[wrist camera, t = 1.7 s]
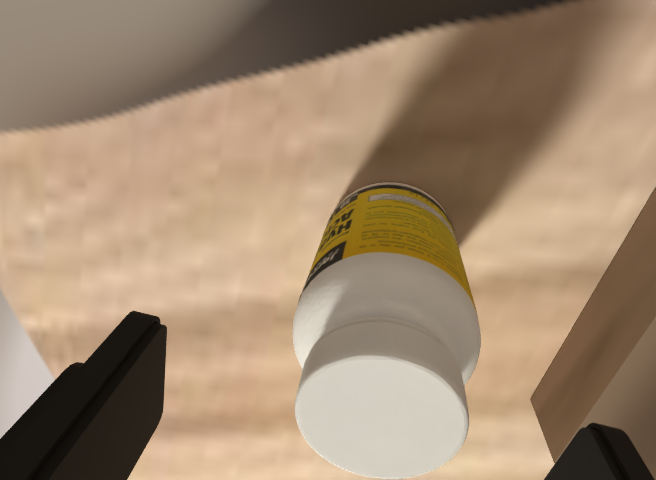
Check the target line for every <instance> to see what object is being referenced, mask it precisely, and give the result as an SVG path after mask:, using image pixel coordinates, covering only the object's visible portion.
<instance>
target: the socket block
mask: <svg viewBox="0 0 656 480" xmlns="http://www.w3.org/2000/svg"><path fill="white" fill-rule="evenodd" d="M530 400H531V403H532V405H533V408H534V411H535V413H536V416H537V418H538V421H539V424H540V426H541V429H542V432H543V434H544V437H545V440H546V442H547V445H548V448H549V450H550V453H551V456H552V458H553V461H554V463H556V462H557V460H558V459H559V458H560V456H561V455H562V453H563V452H564V450H565V449H566V448H567V446H568V445H569V443H570V442H571V441H572V439H573V438H574V436H575V435H576V433H577V432H578V431H579V430H580V429H581V428H583V427H585V428H586V427H587V426H588V425H589V424H590V423H598V424H602V425H606V426H610V427H614V428H618V429H621V430H623V431H624V432H625V433H626V434H627V435H628V436H629V438H630V440H631V441H632V443H633V445H634V446H635V448H636V450H637V451H638V453H639V455H640V456H641V458H642V460H643V461H644V463H645V465H646V466H647V468H648V469H649V471H650V473H651V474H652V476H653V478H654V479H655V480H656V188H655V190H654V191H653V193H652V195H651V196H650V198H649V200H648V201H647V203H646V205H645V206H644V208H643V210H642V212H641V213H640V215H639V217H638V218H637V220H636V222H635V223H634V225H633V227H632V228H631V230H630V232H629V233H628V235H627V237H626V239H625V240H624V242H623V244H622V245H621V247H620V249H619V250H618V252H617V254H616V255H615V257H614V259H613V260H612V262H611V264H610V266H609V267H608V269H607V271H606V272H605V274H604V276H603V277H602V279H601V281H600V282H599V284H598V286H597V287H596V289H595V291H594V293H593V294H592V296H591V298H590V299H589V301H588V303H587V304H586V306H585V308H584V309H583V311H582V313H581V315H580V316H579V318H578V320H577V321H576V323H575V325H574V326H573V328H572V330H571V331H570V333H569V335H568V336H567V338H566V340H565V342H564V343H563V345H562V347H561V348H560V350H559V352H558V353H557V355H556V357H555V358H554V360H553V362H552V363H551V365H550V367H549V369H548V370H547V372H546V374H545V375H544V377H543V379H542V380H541V382H540V384H539V385H538V387H537V389H536V391H535V392H534V394H533V396H532V397H531V399H530Z"/></svg>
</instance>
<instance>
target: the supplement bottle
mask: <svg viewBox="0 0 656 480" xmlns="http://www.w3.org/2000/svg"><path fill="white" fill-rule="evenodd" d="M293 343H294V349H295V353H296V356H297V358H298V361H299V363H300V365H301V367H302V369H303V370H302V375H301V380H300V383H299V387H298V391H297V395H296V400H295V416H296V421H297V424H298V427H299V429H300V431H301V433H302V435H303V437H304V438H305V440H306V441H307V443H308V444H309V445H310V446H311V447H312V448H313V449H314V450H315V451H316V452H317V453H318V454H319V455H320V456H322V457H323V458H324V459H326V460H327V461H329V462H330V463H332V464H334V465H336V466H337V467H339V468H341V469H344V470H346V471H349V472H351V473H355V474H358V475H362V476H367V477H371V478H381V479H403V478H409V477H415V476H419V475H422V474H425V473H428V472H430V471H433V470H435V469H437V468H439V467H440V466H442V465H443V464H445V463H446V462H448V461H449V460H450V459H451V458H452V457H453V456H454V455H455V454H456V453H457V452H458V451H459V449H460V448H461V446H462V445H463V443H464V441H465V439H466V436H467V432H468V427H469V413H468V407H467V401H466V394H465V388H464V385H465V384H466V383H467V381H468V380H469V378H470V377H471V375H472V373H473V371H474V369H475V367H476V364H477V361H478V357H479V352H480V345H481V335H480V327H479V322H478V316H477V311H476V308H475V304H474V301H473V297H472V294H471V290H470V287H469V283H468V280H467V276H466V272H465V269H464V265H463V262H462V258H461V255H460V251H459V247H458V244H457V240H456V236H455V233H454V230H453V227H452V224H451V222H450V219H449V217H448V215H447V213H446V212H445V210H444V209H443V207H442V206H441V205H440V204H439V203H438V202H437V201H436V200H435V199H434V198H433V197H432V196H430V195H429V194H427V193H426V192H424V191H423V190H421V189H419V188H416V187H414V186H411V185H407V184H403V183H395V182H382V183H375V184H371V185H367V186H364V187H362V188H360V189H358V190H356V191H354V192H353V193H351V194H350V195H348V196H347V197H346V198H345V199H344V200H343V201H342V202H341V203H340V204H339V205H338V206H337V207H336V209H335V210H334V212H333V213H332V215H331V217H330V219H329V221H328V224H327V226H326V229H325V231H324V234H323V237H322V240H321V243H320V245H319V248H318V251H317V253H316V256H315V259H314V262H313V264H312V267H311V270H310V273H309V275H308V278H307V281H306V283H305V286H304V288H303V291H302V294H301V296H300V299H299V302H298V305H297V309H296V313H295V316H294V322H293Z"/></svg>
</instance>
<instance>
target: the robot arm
mask: <svg viewBox="0 0 656 480" xmlns="http://www.w3.org/2000/svg"><path fill="white" fill-rule="evenodd" d="M166 337H167V327H166V326H165V325H161V324H160V318H159V317H157V316H153V315H149V314H145V313H140V312H136V311H132V312H130V313H129V314H128V315H127V316H126V317H125V318H124V319H123V320H122V322H121V323H120V324H119V325H118V326H117V327H116V328H115V329H114V331H113V332H112V333H111V334H110V335H109V336H108V337H107V338H106V339H105V341H104V342H103V343H102V344H101V345H100V346H99V347H98V348H97V350H96V351H95V352H94V353H93V354H92V355H91V356H90V357H89V358H88V360H87V361H86V362H85V363H78V362H76V363H74V364H72V365H70V366H69V367H68V368H67V369H65V370H64V371H63V372H62V373H61V375H60V376H59V377H58V378H57V379H56V380H55V381H54V382H53V383H52V384H51V385H50V386H49V387H48V389H47V390H46V391H45V392H44V393H43V394H42V395H41V396H40V397H39V398H38V399H37V400H36V401H35V402H34V403H33V405H32V406H31V407H30V408H29V409H28V410H27V411H26V412H25V413H24V414H23V415H22V416H21V417H20V418H19V420H18V421H17V422H16V423H15V424H14V425H13V426H12V427H11V428H10V429H9V430H8V431H7V432H6V433H5V435H4V436H3V437H2V438H1V439H0V480H127V479H128V477H129V475H130V473H131V472H132V470H133V468H134V466H135V465H136V463H137V461H138V459H139V458H140V456H141V454H142V452H143V451H144V449H145V447H146V445H147V443H148V442H149V440H150V438H151V436H152V435H153V433H154V431H155V429H156V428H157V426H158V424H159V422H160V419H161V416H162V412H163V403H164V381H165V359H166ZM544 480H655V479H654V478H653V476H652V474H651V473H650V471H649V469H648V468H647V466H646V465H645V463H644V461H643V460H642V458H641V456H640V455H639V453H638V451H637V450H636V448H635V446H634V445H633V443H632V441H631V440H630V438H629V436H628V435H627V434H626V433H625V432H624V431H623V430H621V429H618V428H614V427H610V426H606V425H602V424H598V423H590V424H589V425H588V426H587V427H586V428H585V427H583V428H581V429H580V430H579V431H578V432H577V433H576V435H575V436H574V438H573V439H572V441H571V442H570V443H569V445H568V446H567V448H566V449H565V450H564V452H563V453H562V455H561V456H560V458H559V459H558V460H557V462H556V463H555V465H554V466H553V468H552V469H551V470H550V472H549V473H548V475H547V476H546V478H545V479H544Z"/></svg>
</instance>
